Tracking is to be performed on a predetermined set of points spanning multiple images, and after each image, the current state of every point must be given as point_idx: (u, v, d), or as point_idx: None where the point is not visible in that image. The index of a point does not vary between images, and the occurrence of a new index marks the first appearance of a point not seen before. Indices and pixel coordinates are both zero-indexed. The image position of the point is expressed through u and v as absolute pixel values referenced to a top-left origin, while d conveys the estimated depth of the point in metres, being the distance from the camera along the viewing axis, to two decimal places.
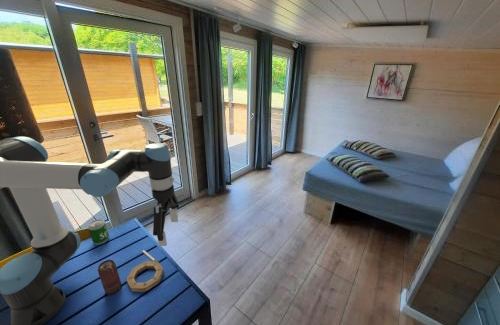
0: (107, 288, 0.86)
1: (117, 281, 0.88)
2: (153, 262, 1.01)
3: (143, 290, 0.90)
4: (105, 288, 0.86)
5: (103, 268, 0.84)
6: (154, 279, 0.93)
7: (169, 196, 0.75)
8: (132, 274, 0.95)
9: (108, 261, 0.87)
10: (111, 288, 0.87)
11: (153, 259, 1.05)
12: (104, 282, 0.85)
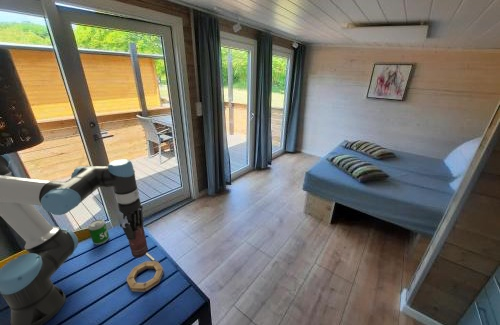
0: (135, 250, 0.86)
1: (144, 244, 0.88)
2: (153, 262, 1.01)
3: (143, 290, 0.90)
4: (133, 250, 0.86)
5: None
6: (154, 279, 0.93)
7: (134, 209, 0.79)
8: (132, 274, 0.95)
9: None
10: (139, 251, 0.87)
11: (153, 259, 1.05)
12: (132, 244, 0.85)
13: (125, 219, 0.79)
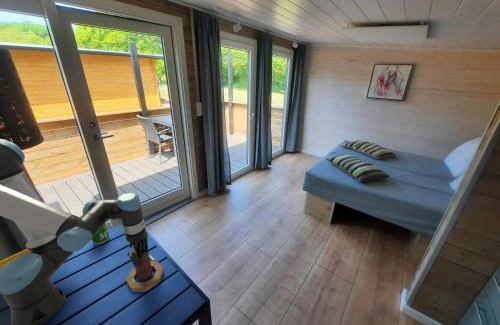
0: (140, 275, 0.92)
1: (149, 268, 0.94)
2: (153, 262, 1.01)
3: (143, 290, 0.90)
4: (139, 275, 0.92)
5: None
6: (154, 279, 0.93)
7: (140, 238, 0.85)
8: (132, 274, 0.95)
9: None
10: (144, 275, 0.92)
11: (153, 259, 1.05)
12: (138, 269, 0.91)
13: (132, 248, 0.84)
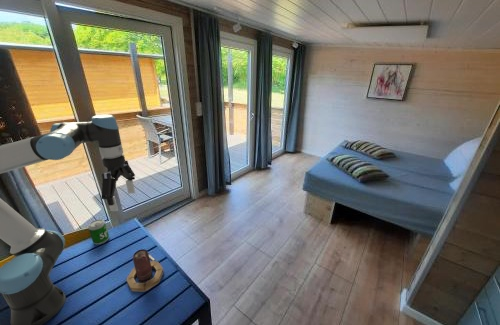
0: (140, 276, 0.92)
1: (149, 269, 0.94)
2: (153, 262, 1.01)
3: (143, 290, 0.90)
4: (139, 276, 0.92)
5: (138, 256, 0.90)
6: (154, 279, 0.93)
7: (118, 164, 0.82)
8: (132, 274, 0.95)
9: (141, 250, 0.93)
10: (144, 276, 0.93)
11: (153, 259, 1.05)
12: (138, 270, 0.91)
13: None
